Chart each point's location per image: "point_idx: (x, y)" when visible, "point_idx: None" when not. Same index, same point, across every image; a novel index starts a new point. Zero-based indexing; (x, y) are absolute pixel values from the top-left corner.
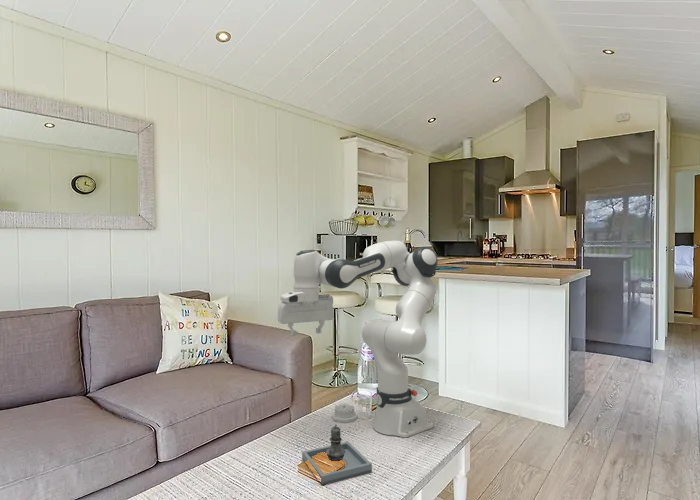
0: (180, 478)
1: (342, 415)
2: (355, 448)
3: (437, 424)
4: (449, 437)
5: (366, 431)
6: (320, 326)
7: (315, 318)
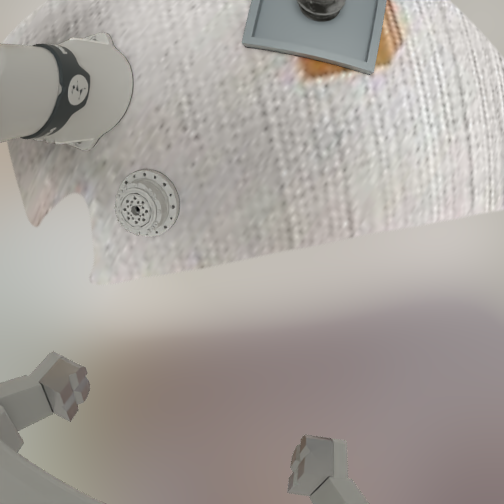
0: None
1: (157, 189)
2: (250, 6)
3: None
4: (53, 9)
5: (150, 101)
6: (24, 396)
7: (17, 491)
